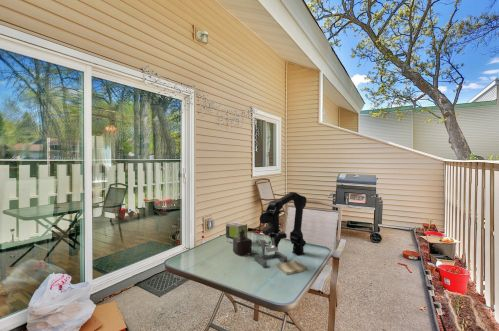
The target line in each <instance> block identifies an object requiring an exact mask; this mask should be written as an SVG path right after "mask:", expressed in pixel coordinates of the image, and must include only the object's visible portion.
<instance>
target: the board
mask: <svg viewBox="0 0 499 331" xmlns="http://www.w3.org/2000/svg"><path fill="white" fill-rule="evenodd" d="M275 267H276V268H277V269H278V270H280V271H281V272H282V273H283V274H286V275H291V274H295V273H300V272H304V271H308V267H306V266H305V265H303V264H302V263H300V262H299V261H297V260H293V261H287V262H286V263H283V262H281V263H279V264H278V263H277V264H275Z"/></svg>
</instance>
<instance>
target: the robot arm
mask: <svg viewBox="0 0 499 331" xmlns="http://www.w3.org/2000/svg"><path fill="white" fill-rule="evenodd" d="M307 200H308V199H307V197H306V196H303V195H301V194H299V193H297V192H294V191H290V192H289V193H287V194H285V195H284V196H282V197H280V198H279V199H273V200H271V201H269V202H268V205H267V207H266V209H265V211H264V212H262V213H261V214H260V217H259V222H260V223H261V224H262V225H266V224H268V225H266V226H264V227H262V228H261V232H262V234H263V235H264V236H269V237H270V238H269V239H270V241H271V242H272V237H273V238H274V239H275V247H277V246H278V247H279V244H280V242H281V240H283V239H287V234H286V232H284V231H281V229H280V226H282V225H281V222H280V215H281V214H282V211H281V210H283V207H284V205H286V204H288V203H290V202H291V201H293V205H294V207H295V212H294V213H295V214H294V222H293V229H292V230H291V231H290V232H289V240H290V242H291V245H292V251H291V252H292V254H294V255H295V256H301V255H305V254H306V253H305V252H304V247H305V246H306V244H307V242H306V241H305V239H304V234H303V232H302V226H303V225H302V223H303V214H304V209H305V207H306V206H307Z"/></svg>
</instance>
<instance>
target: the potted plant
mask: <svg viewBox="0 0 499 331" xmlns="http://www.w3.org/2000/svg"><path fill="white" fill-rule="evenodd" d="M239 234H240V236H239V237H237V238H233V243H232V252H233V253H234V254H235V255H238V256H244V255H250V254H252V251H253V250H252V249H253V248H252V247H253V246H252V244H253V243H252V242H253V240H252V239H251V238H249V237H248V236H247V237H246V234H245V231H243V229H241V230H240V231H239ZM243 235H244V236H243Z"/></svg>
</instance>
